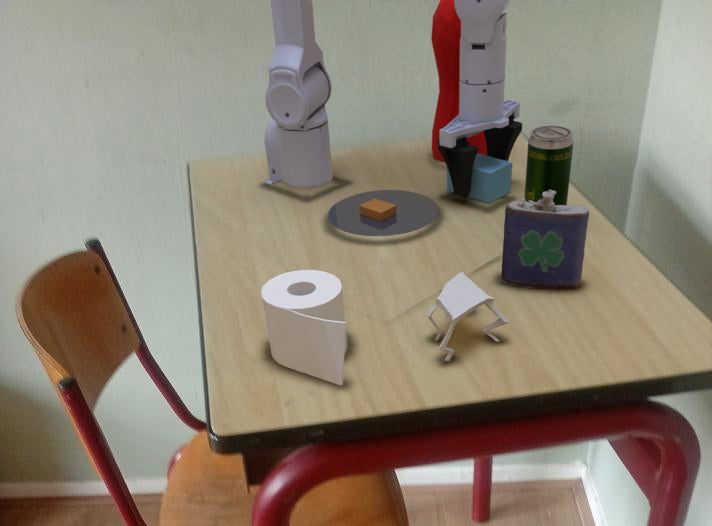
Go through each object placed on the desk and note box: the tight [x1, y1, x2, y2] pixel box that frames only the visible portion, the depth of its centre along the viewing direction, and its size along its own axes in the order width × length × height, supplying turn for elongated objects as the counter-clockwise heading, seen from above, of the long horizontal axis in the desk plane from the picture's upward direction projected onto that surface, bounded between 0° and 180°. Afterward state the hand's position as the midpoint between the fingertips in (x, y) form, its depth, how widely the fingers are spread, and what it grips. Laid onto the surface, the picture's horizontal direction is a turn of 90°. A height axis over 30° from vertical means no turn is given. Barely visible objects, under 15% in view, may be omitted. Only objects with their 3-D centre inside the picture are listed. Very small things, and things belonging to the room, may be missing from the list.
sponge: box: [446, 153, 513, 205], centre depth 111 cm, size 8×5×5 cm, turn 47°
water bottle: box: [430, 0, 487, 163], centre depth 115 cm, size 9×11×25 cm
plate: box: [327, 189, 440, 237], centre depth 109 cm, size 15×15×1 cm
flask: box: [501, 190, 590, 290], centre depth 90 cm, size 9×3×11 cm, turn 74°
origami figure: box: [426, 271, 511, 362], centre depth 85 cm, size 12×8×5 cm
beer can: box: [523, 125, 574, 206], centre depth 100 cm, size 5×5×12 cm
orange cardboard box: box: [360, 198, 397, 221], centre depth 107 cm, size 4×3×1 cm
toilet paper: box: [260, 269, 348, 387], centre depth 83 cm, size 8×11×7 cm
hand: (478, 186), depth 111 cm, fingers open, 7 cm apart
